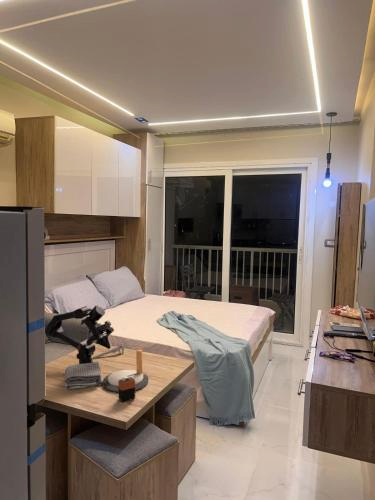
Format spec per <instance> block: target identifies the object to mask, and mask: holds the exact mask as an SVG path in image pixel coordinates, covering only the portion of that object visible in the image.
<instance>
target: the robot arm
mask: <svg viewBox="0 0 375 500" xmlns="http://www.w3.org/2000/svg"><path fill="white" fill-rule="evenodd" d="M105 315H106V311H105V309H104V308H102V307H101V306H99V305H95V306H93V308H89V307H88V306H86V305H85V306H82V307H80V308H77V309H75V310H73V311H69V312H63V313H58V314H56V315H53V316H52V319H51V320H50V321H49V323H47V326H46V327H45V329H44V332H45V335H46V336H48V337H49V338H53V339H54V338H55V339H56V338H57V339H59V340H61V341H63V342H65V343H66V344H68V345H70V346H72V347H73V348H75V349H77V352H78V353H77V354H76V355H75V356H76V359H77V360H78V363H79V364H86V363H93V362H94V361H93V360H94V359H92V358H93V355H94V353H95V351H96V345H99V346H102V347H104V348H106V349H108V350H111V349H112V346H111V344H110V341H109V336H111V334H112V333H113V332H114V331H115V328H114V327H111V326H112V322H111V321H110V320H106V321H104V323H103V324H102V323H98V322H99V320H100V319H102V318H103V316H105ZM71 319H75V320H81V322H80V326H83V325H85V326H86V328H87V329H88V333H89V334H91V336H90V337H89V338H87V339H85V340H81V339H79V338H78V337H75V336H74V335H72V334H70V333H69V332H66V331H65V330H64V328H63V327H62V326H63V321H67V320H71ZM93 342H95V344H96V345H95V344H94V343H93Z"/></svg>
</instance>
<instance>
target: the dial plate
mask: <svg viewBox="0 0 375 500" xmlns="http://www.w3.org/2000/svg"><path fill="white" fill-rule="evenodd" d="M112 373H113V372H112ZM112 373H110V374H112ZM110 374H109V373H108V374H107V375H105V377H104V378H102V380H103V383H102V386H103V388H104V390H107V391H108V392H111V393H114V394H115V393H117V394H119V387H117V386H113V385H111V384H109V382H108V377H109V375H110ZM142 374H143V380H142V382H140V383H139V384H137V385H135V392H137V391H140V390H142V389H144V388H145V387H147V385H148V384H149V377H148V375H147V374H146V373H145V372H143V371H142Z"/></svg>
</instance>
